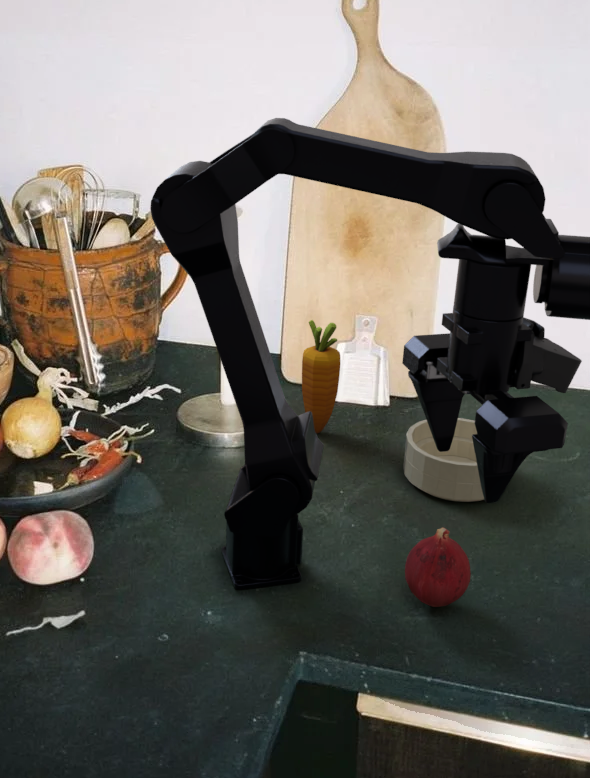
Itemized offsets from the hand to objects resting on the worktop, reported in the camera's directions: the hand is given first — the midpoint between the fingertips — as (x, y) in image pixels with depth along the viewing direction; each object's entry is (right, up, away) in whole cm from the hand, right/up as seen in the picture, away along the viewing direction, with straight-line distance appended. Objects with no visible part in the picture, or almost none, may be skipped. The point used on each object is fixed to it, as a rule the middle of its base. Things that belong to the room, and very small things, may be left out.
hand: (466, 475), depth 83 cm
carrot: (-11, 0, +34) cm, 35 cm away
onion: (-3, -12, +2) cm, 13 cm away
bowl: (+4, -4, +24) cm, 24 cm away
